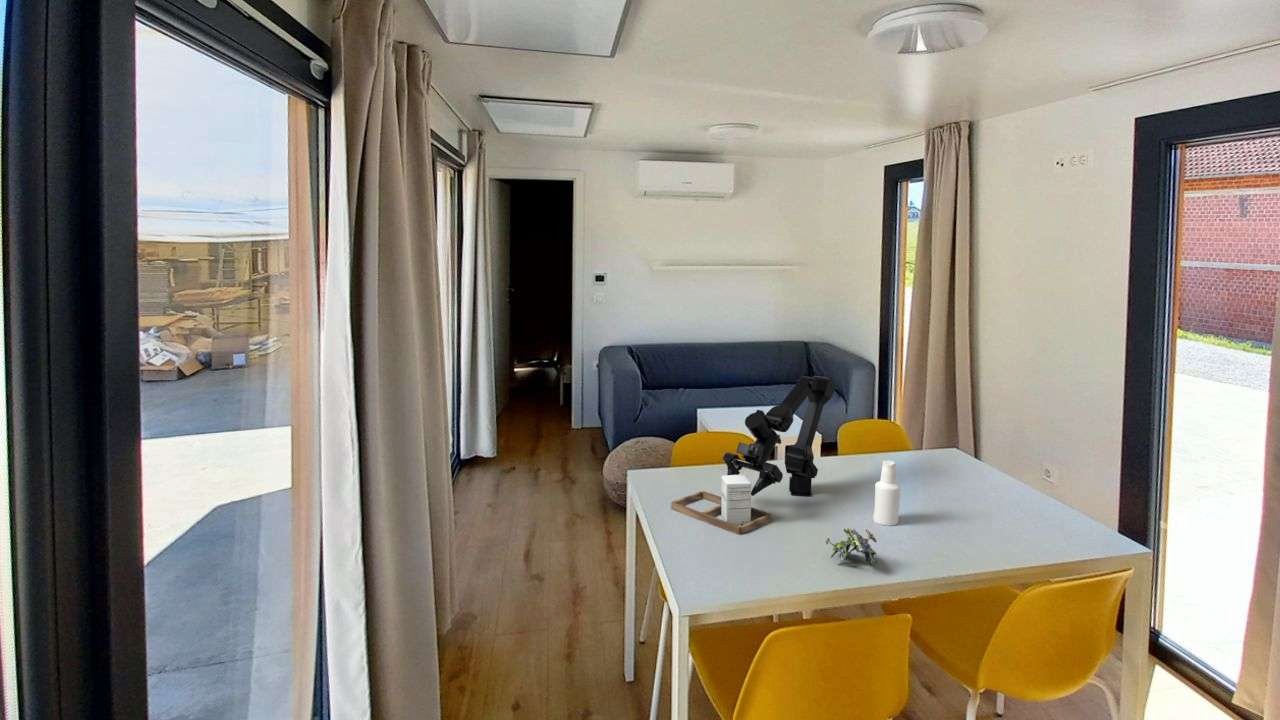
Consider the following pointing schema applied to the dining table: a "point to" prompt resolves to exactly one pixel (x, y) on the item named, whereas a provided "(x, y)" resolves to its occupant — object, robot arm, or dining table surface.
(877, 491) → the spray bottle
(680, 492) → the dining table surface
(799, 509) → the dining table surface
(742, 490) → the supplement box
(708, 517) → the wooden compartment frame
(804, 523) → the dining table surface
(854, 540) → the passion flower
